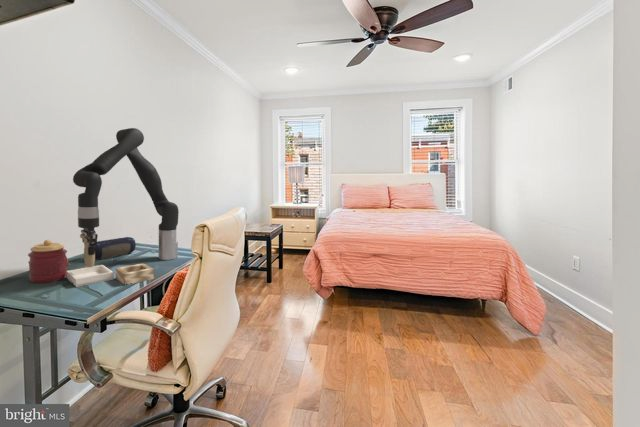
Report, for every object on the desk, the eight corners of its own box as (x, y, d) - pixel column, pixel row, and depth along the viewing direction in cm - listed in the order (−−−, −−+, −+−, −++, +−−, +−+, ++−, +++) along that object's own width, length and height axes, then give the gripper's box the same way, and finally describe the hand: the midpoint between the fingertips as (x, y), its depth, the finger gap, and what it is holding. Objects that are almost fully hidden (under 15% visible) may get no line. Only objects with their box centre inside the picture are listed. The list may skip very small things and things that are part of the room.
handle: (93, 268, 135) (92, 236, 133) (78, 267, 135) (77, 235, 133) (100, 265, 140) (99, 234, 138) (86, 264, 139) (85, 233, 137)
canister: (74, 276, 139) (72, 239, 136) (39, 285, 127) (36, 245, 125) (58, 271, 144) (56, 235, 141) (23, 279, 132) (20, 240, 130)
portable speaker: (92, 263, 158) (91, 245, 157) (82, 259, 163) (81, 241, 161) (139, 253, 180) (139, 237, 179) (129, 250, 185) (129, 234, 183)
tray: (102, 271, 148) (102, 264, 147) (113, 279, 139) (113, 272, 139) (66, 278, 136) (66, 270, 136) (76, 287, 128) (75, 279, 128)
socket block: (143, 272, 150) (143, 263, 149) (153, 278, 143) (153, 268, 143) (115, 278, 140) (115, 268, 140) (125, 285, 134) (125, 274, 133)
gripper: (104, 218, 133) (105, 255, 135) (93, 213, 141) (94, 249, 144) (83, 219, 127) (84, 258, 129) (73, 214, 135) (74, 251, 138)
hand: (89, 253), depth 136 cm, fingers closed on handle, 4 cm apart
